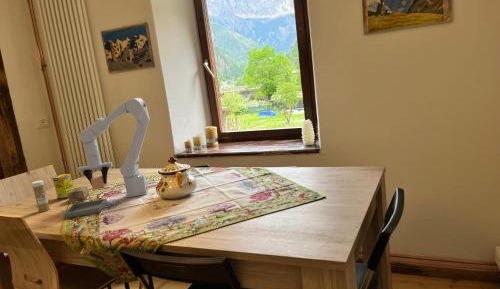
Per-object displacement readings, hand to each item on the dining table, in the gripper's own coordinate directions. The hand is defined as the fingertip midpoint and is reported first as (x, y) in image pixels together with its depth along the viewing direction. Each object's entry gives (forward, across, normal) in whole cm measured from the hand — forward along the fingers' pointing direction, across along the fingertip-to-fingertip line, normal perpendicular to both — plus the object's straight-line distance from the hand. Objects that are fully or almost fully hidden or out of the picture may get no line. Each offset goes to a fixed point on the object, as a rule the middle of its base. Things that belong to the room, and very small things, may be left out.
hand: (99, 184), depth 175 cm
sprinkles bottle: (+7, +25, +2) cm, 26 cm away
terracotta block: (+2, 0, 0) cm, 2 cm away
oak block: (+7, +12, -7) cm, 16 cm away
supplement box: (+7, +21, -15) cm, 27 cm away
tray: (+7, +3, +14) cm, 16 cm away
